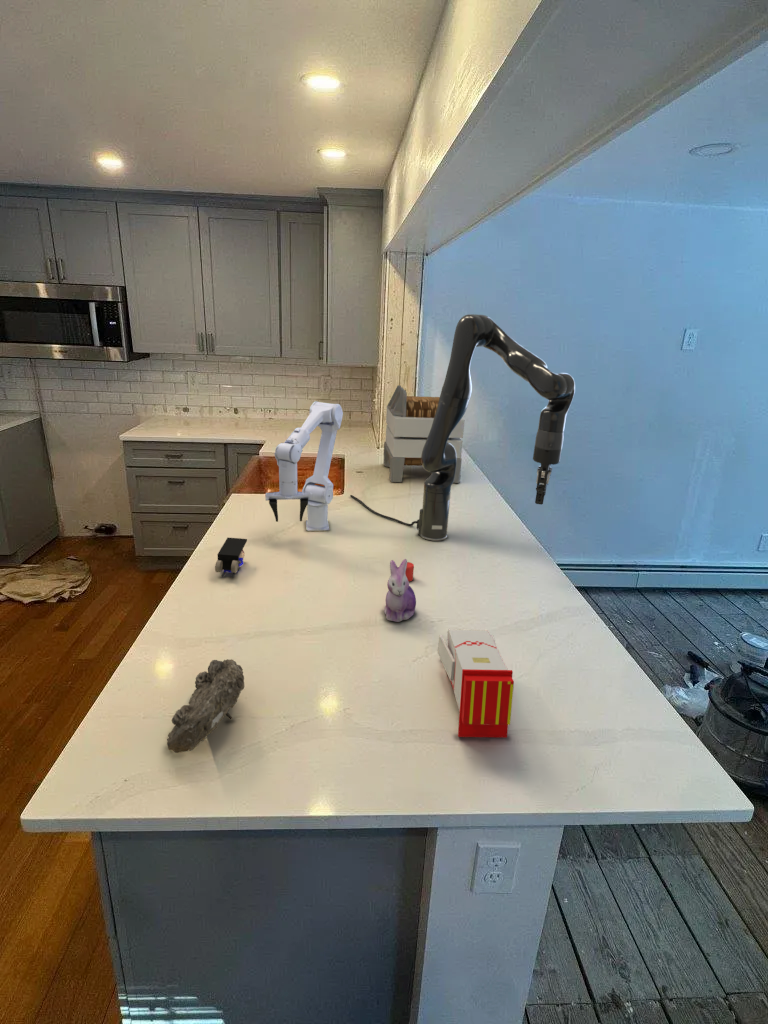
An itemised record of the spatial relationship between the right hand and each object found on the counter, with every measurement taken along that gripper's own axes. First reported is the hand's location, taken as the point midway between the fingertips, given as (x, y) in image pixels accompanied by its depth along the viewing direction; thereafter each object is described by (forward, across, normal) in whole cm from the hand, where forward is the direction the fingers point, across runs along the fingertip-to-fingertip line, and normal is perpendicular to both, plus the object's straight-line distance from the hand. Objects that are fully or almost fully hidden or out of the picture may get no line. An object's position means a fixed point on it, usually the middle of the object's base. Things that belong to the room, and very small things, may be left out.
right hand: (540, 499), depth 166 cm
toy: (+24, +64, -6) cm, 69 cm away
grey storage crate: (+25, -92, -61) cm, 114 cm away
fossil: (+24, +91, -50) cm, 107 cm away
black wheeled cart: (+25, +35, -83) cm, 93 cm away
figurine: (+24, +40, -29) cm, 55 cm away
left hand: (+16, +11, -77) cm, 79 cm away
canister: (+24, +19, -34) cm, 46 cm away
